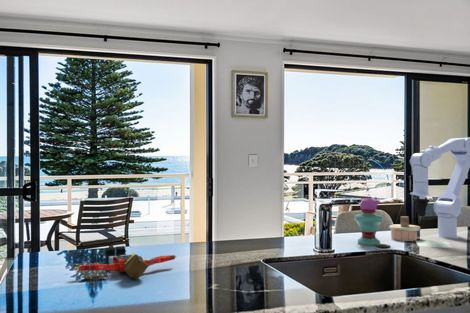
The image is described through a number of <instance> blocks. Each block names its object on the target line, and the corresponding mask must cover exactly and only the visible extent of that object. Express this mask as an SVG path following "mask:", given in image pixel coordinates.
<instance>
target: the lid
mask: <svg viewBox="0 0 470 313" xmlns="http://www.w3.org/2000/svg"><path fill="white" fill-rule="evenodd" d="M409 219H410V218H409V216H408V215H407V216H405V215H404V216H402V215H401V216H400V224H399V223H397V224H390V225H389V226H388V227H389V230H391V229H392V230H398V231H417V232H418V231H420V230H421V226H419V225H415V224H410V220H409Z"/></svg>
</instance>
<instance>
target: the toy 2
mask: <svg viewBox="0 0 470 313" xmlns="http://www.w3.org/2000/svg"><path fill="white" fill-rule="evenodd" d="M380 203H381V201H380V199H374V198H367V197H365V198H363V199H362V203H361V204H359V206H360V210H361V211H360V212H361V213H358V214H355V215H354V221H355V222H356V223H357V225H358V227H359V229H360V233H361V237H360V238H358V239H357V245H360V246H364V247H365V246H367V247H376V246H378V245H381V240H380V239H378V237H376V234H377V230H378V228H379V227H380V225H381V223H382V222H383V221H384V217H383V215H380V214H377V212H376V210H378V209H377V208H378V207H377V206H378V205H379V204H380Z"/></svg>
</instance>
